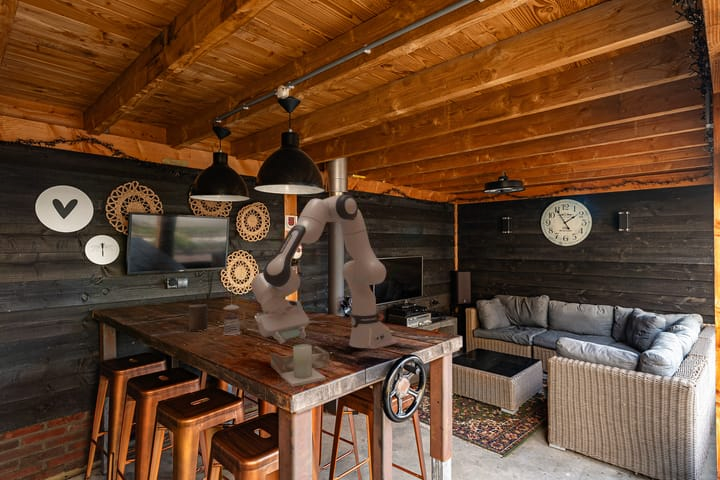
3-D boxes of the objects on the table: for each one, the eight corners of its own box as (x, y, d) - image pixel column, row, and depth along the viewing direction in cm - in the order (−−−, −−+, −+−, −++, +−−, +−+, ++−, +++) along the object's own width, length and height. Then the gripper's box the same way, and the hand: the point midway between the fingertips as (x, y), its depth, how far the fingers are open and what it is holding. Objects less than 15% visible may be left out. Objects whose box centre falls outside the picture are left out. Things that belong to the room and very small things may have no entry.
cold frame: (316, 358, 158) (316, 346, 158) (329, 366, 148) (329, 353, 148) (270, 366, 148) (270, 353, 148) (280, 375, 138) (280, 361, 138)
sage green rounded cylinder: (307, 371, 139) (307, 343, 139) (315, 376, 134) (314, 347, 134) (291, 374, 136) (290, 345, 136) (297, 379, 130) (297, 350, 131)
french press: (222, 332, 208) (222, 285, 208) (245, 330, 211) (244, 285, 211) (221, 336, 198) (220, 287, 198) (244, 334, 201) (244, 286, 202)
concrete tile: (312, 370, 143) (312, 367, 143) (325, 380, 132) (325, 377, 132) (280, 376, 137) (280, 373, 137) (292, 386, 126) (292, 383, 127)
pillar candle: (206, 331, 211) (205, 303, 211) (186, 332, 208) (186, 304, 209) (208, 327, 220) (208, 301, 220) (190, 328, 218) (190, 302, 218)
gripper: (256, 308, 135) (273, 340, 129) (301, 301, 151) (318, 329, 144) (249, 320, 138) (266, 351, 132) (293, 311, 154) (310, 339, 147)
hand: (294, 340), depth 138 cm, fingers open, 8 cm apart
